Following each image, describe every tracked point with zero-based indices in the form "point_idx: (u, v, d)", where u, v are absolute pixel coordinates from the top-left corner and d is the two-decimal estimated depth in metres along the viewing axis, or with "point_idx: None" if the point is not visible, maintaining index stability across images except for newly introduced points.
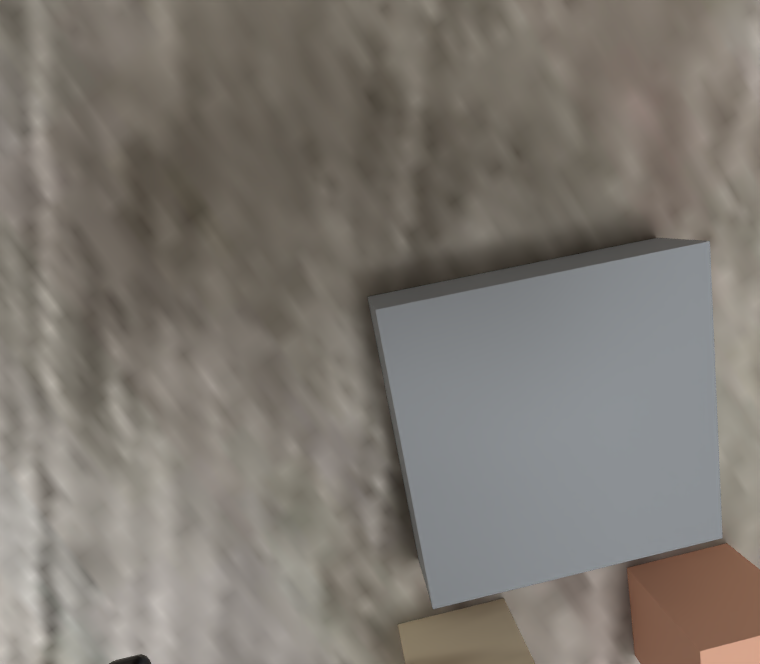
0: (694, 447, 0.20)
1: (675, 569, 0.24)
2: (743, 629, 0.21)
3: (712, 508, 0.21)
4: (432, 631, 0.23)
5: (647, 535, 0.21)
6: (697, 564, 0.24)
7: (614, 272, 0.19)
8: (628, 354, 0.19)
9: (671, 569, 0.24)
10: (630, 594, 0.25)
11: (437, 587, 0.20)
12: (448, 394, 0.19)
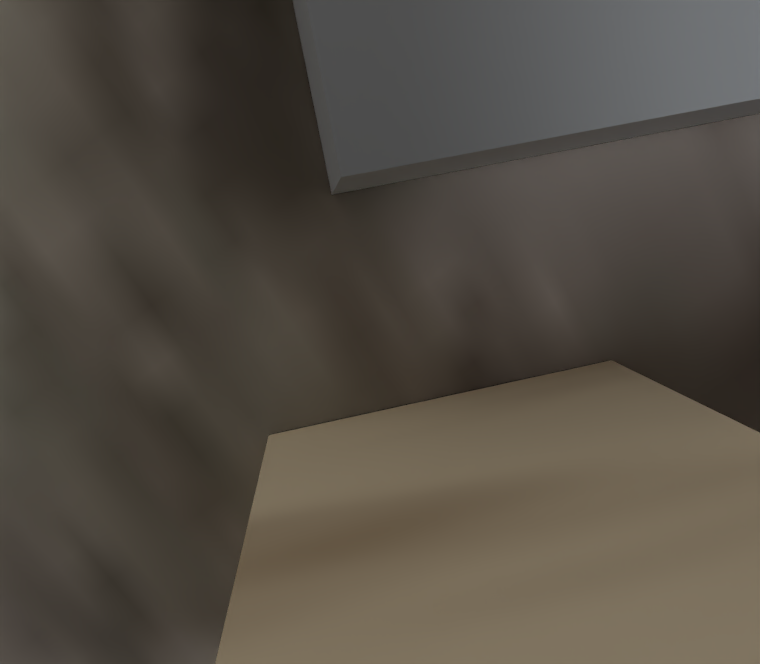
0: None
1: None
2: None
3: None
4: (377, 440, 0.07)
5: None
6: None
7: None
8: None
9: None
10: None
11: (359, 33, 0.04)
12: None
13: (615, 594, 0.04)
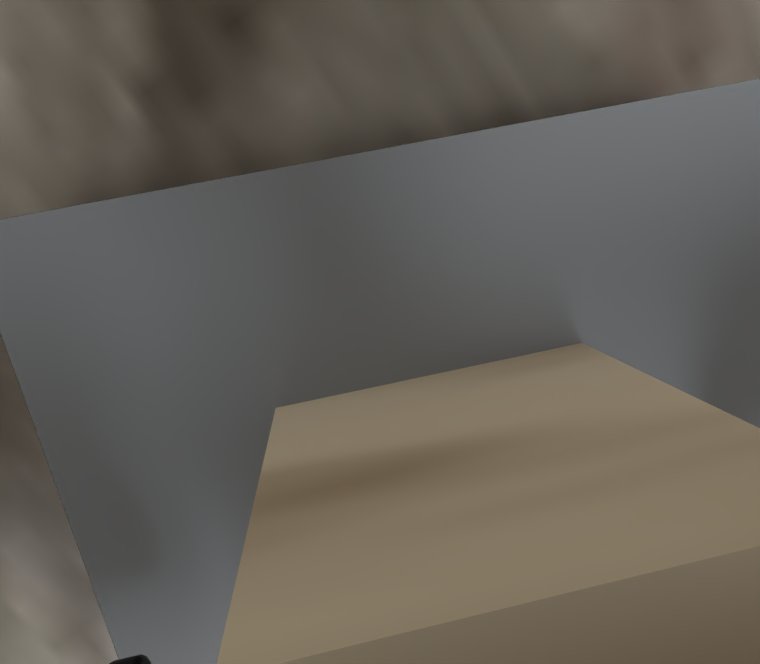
0: None
1: None
2: None
3: None
4: (372, 409, 0.07)
5: None
6: None
7: (556, 145, 0.08)
8: (594, 340, 0.09)
9: None
10: None
11: None
12: (178, 430, 0.08)
13: (557, 511, 0.04)
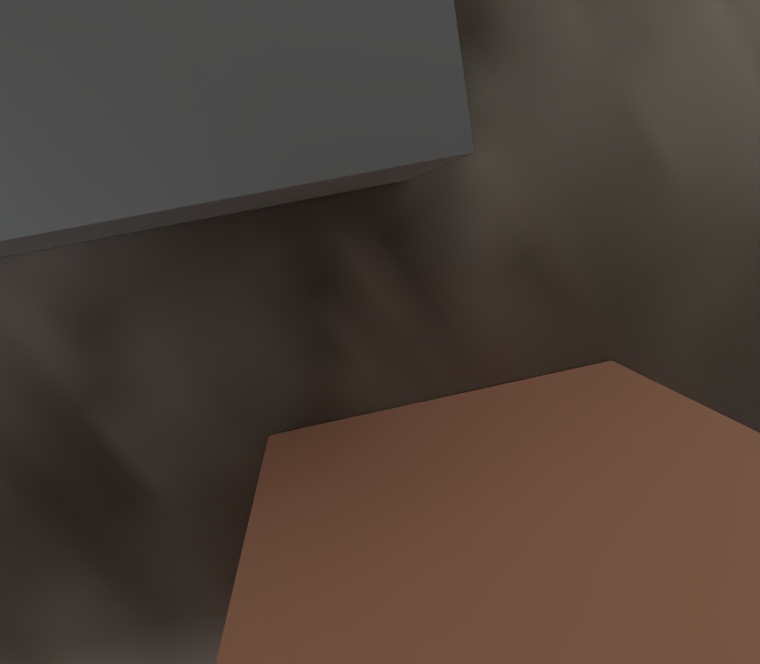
0: None
1: (408, 431, 0.07)
2: None
3: None
4: None
5: None
6: (492, 413, 0.07)
7: None
8: None
9: (396, 432, 0.07)
10: None
11: None
12: None
13: None
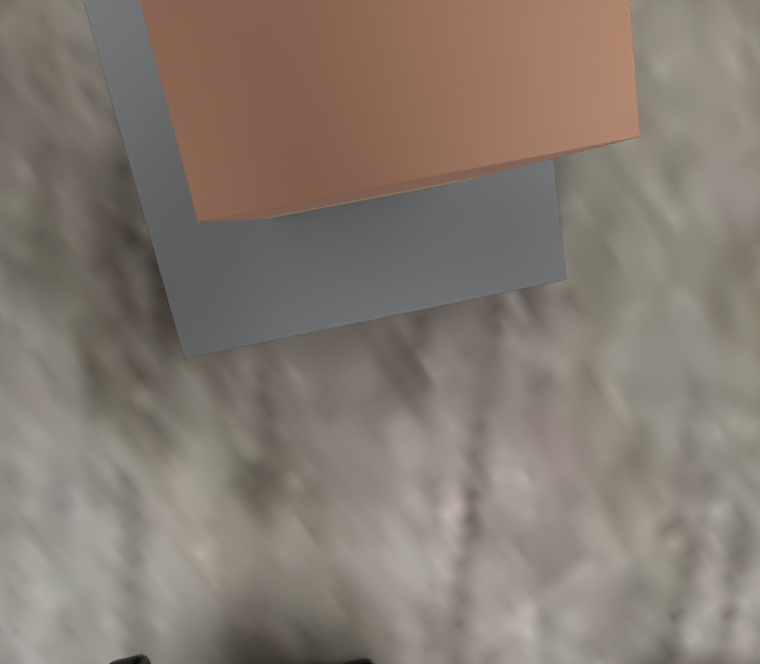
0: None
1: None
2: None
3: (550, 236, 0.16)
4: None
5: (466, 269, 0.16)
6: None
7: None
8: None
9: None
10: None
11: (187, 327, 0.16)
12: None
13: None
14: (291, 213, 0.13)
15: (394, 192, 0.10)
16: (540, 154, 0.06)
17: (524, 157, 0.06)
